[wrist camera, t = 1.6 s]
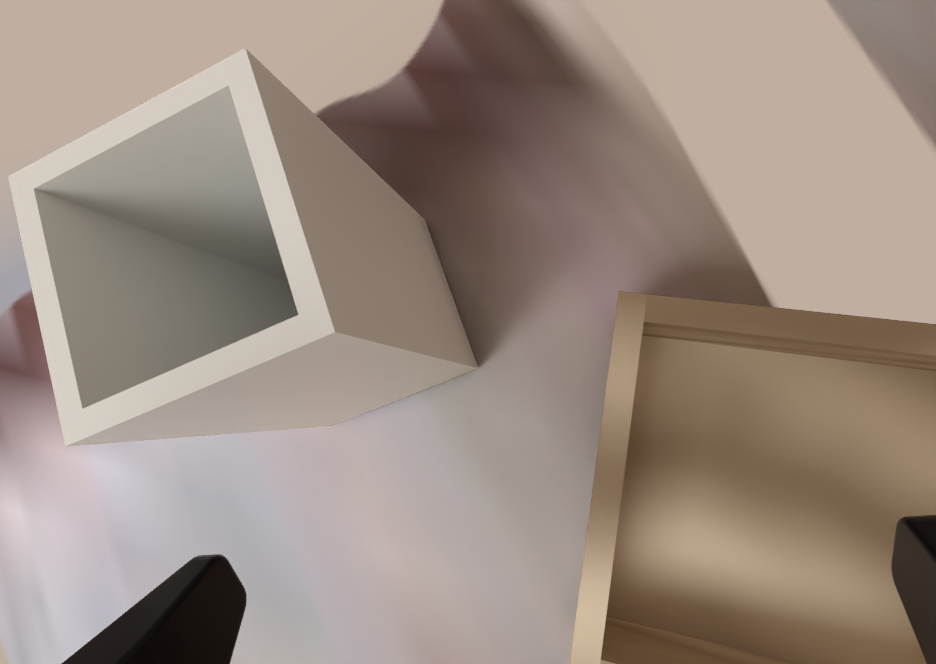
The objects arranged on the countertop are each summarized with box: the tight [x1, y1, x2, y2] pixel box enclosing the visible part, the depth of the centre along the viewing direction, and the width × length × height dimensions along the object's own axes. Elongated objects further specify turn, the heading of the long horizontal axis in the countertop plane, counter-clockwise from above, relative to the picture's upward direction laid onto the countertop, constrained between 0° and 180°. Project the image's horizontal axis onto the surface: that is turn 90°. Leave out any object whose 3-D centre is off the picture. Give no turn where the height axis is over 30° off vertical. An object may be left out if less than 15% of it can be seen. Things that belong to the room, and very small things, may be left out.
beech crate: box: [570, 291, 936, 664], centre depth 18 cm, size 11×11×4 cm
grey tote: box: [8, 48, 478, 446], centre depth 18 cm, size 6×6×12 cm
